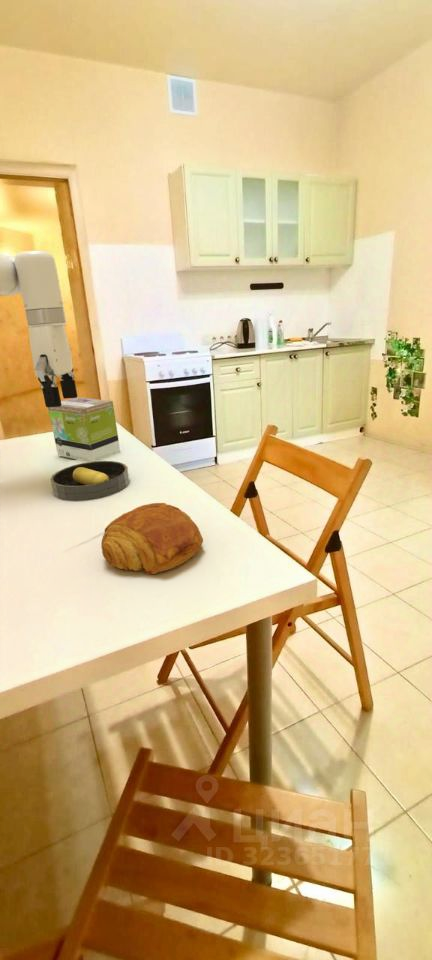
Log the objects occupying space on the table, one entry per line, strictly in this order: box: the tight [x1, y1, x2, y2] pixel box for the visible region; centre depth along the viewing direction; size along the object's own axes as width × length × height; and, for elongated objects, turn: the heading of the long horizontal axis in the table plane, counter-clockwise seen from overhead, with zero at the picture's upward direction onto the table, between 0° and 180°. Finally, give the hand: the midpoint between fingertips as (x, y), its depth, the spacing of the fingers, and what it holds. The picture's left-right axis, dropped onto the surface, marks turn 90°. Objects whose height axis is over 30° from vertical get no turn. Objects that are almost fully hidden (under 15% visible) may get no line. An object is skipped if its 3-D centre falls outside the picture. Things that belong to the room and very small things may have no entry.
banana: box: [73, 467, 109, 485], centre depth 97 cm, size 11×4×4 cm, turn 50°
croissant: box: [101, 502, 204, 575], centre depth 68 cm, size 14×16×8 cm
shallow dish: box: [49, 460, 131, 502], centre depth 97 cm, size 16×16×4 cm
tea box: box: [47, 396, 121, 463], centre depth 119 cm, size 15×10×15 cm
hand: (62, 402), depth 98 cm, fingers open, 9 cm apart
